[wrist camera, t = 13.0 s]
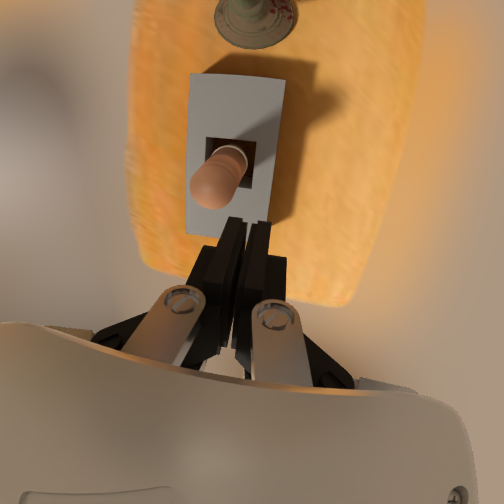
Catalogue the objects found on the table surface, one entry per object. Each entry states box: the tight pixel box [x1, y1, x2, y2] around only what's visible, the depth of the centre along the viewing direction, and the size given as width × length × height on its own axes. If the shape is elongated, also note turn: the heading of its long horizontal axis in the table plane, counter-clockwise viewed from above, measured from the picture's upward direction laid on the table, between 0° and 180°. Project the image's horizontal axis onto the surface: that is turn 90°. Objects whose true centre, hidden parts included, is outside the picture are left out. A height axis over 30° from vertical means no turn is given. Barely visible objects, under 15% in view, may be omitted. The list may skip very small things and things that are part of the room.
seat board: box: [186, 73, 286, 242], centre depth 32 cm, size 20×10×4 cm, turn 174°
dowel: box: [190, 141, 249, 209], centre depth 29 cm, size 4×4×12 cm
